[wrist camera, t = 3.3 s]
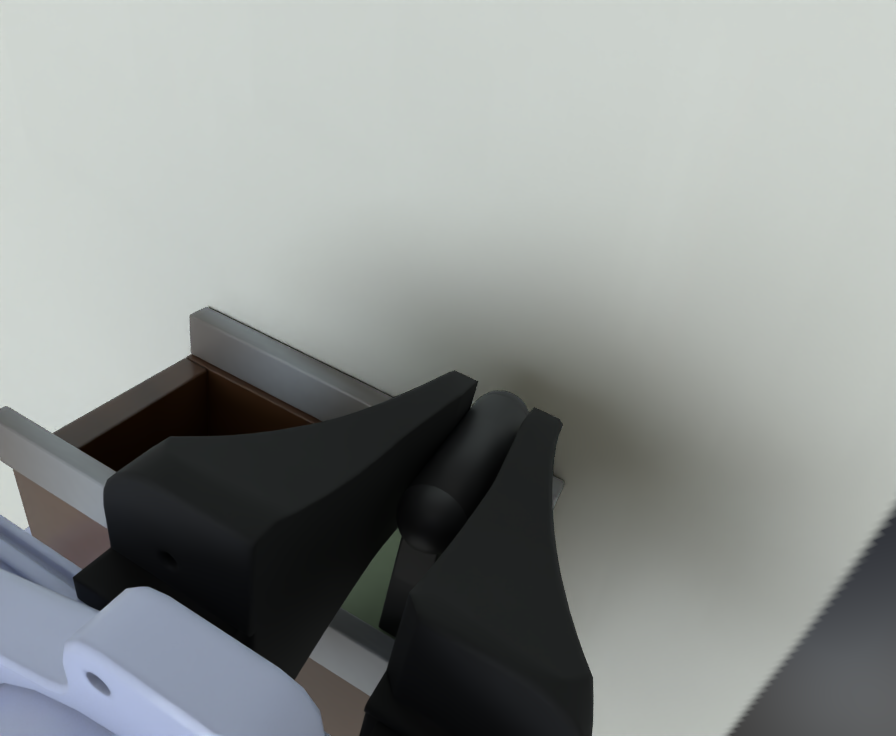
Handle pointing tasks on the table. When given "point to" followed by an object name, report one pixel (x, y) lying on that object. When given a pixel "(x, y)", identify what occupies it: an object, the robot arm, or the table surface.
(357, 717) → the cabinet
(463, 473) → the closet door
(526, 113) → the table surface
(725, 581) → the table surface
